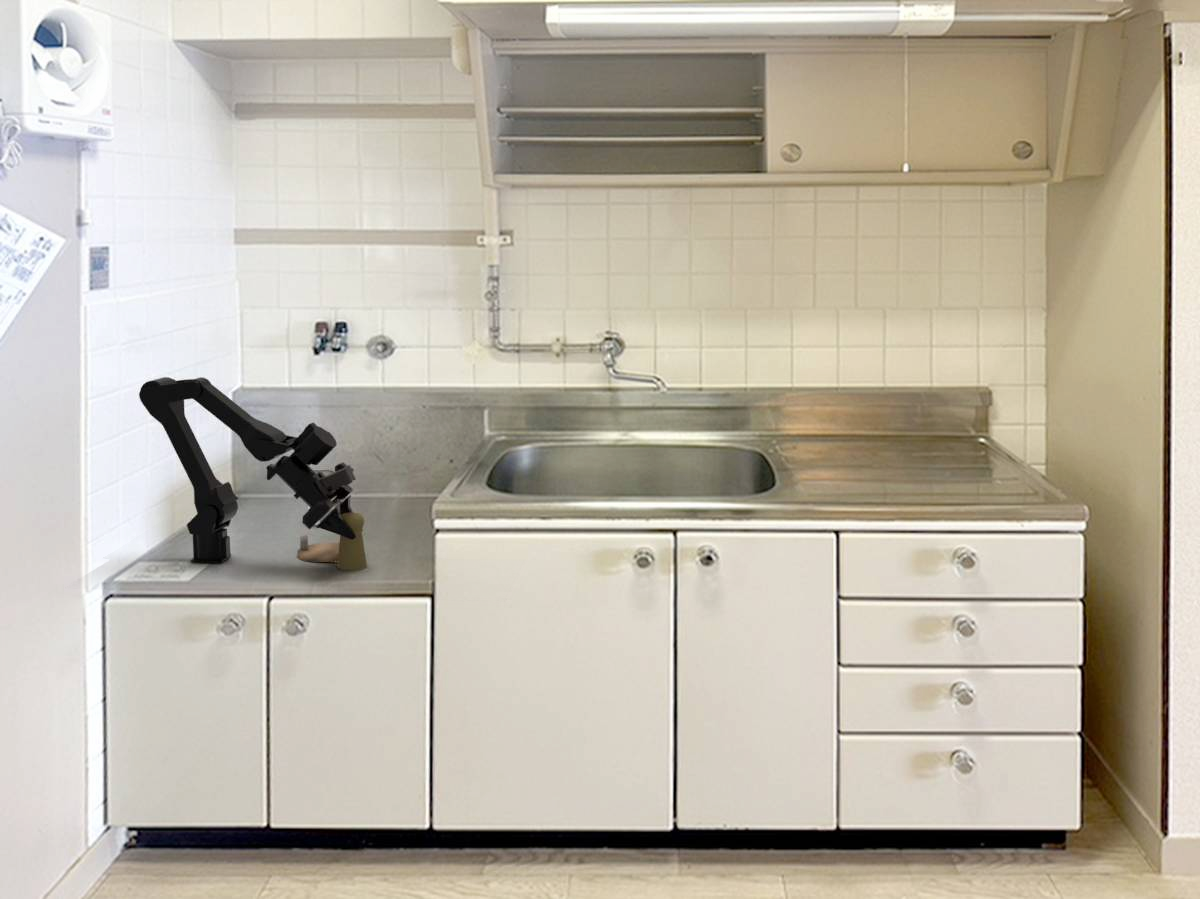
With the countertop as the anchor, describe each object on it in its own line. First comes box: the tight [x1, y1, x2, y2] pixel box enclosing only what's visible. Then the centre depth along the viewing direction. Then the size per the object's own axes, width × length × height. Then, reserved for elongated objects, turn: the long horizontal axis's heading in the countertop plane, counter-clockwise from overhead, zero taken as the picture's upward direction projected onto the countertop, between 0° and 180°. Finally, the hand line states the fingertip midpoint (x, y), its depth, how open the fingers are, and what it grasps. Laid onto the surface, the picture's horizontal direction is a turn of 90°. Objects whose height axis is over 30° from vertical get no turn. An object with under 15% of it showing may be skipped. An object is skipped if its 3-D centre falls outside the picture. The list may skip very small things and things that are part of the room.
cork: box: [336, 512, 368, 571], centre depth 289 cm, size 6×6×11 cm
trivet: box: [296, 534, 340, 563], centre depth 298 cm, size 13×13×4 cm
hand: (357, 534), depth 288 cm, fingers closed on cork, 5 cm apart
